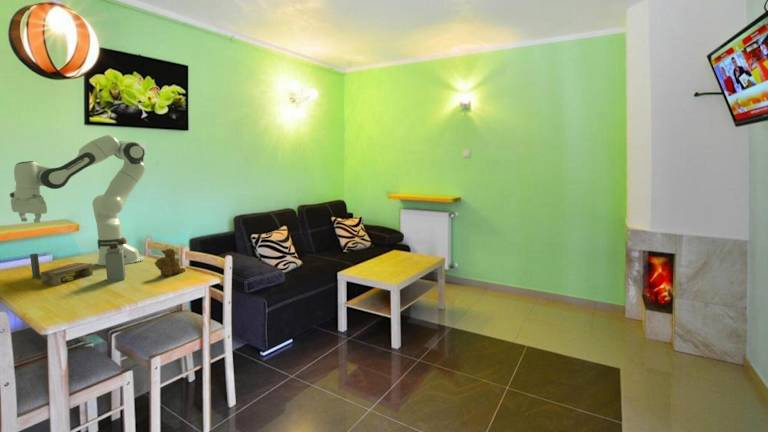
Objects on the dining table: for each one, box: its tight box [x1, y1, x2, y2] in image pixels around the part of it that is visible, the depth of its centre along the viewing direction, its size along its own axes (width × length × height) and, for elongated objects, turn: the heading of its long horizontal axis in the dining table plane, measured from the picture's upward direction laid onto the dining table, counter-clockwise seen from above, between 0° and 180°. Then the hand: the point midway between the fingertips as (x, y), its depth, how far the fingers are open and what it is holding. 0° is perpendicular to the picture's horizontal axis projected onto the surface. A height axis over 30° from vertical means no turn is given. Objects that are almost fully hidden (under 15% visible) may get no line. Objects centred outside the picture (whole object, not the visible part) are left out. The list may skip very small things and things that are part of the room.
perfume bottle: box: [105, 243, 127, 283], centre depth 192 cm, size 7×7×18 cm
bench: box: [40, 262, 94, 286], centre depth 192 cm, size 9×18×6 cm, turn 170°
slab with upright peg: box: [29, 253, 66, 279], centre depth 194 cm, size 14×7×12 cm, turn 80°
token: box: [61, 276, 75, 282], centre depth 192 cm, size 4×4×1 cm
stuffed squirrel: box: [154, 247, 186, 277], centre depth 201 cm, size 10×14×13 cm
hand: (30, 222), depth 194 cm, fingers open, 8 cm apart
